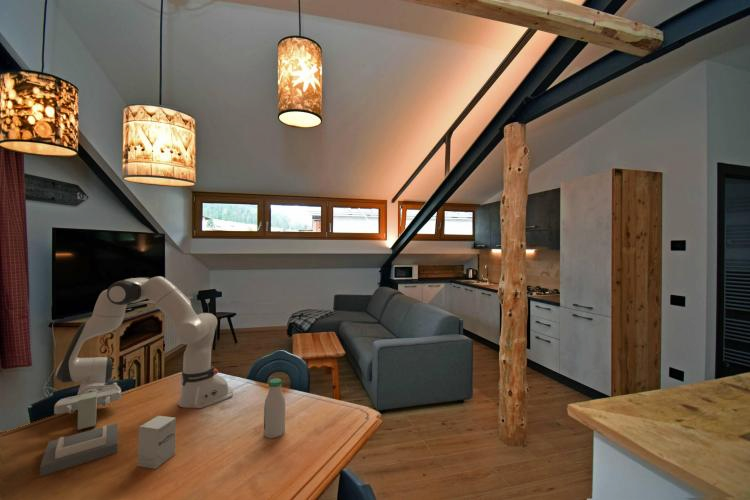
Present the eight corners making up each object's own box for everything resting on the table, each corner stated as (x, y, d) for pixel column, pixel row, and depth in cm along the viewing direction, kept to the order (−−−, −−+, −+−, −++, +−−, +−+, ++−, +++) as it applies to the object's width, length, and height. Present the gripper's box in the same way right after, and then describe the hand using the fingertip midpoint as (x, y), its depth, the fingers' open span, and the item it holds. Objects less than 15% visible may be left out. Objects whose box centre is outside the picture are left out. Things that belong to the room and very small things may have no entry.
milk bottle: (289, 430, 119) (290, 378, 119) (274, 441, 112) (275, 386, 112) (273, 425, 122) (274, 374, 123) (259, 435, 115) (260, 382, 116)
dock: (117, 431, 117) (117, 416, 117) (117, 452, 104) (117, 436, 105) (48, 450, 105) (49, 434, 105) (39, 476, 93) (40, 458, 93)
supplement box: (156, 469, 97) (157, 429, 97) (136, 466, 98) (137, 426, 98) (175, 454, 104) (176, 417, 104) (157, 451, 105) (158, 414, 105)
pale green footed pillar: (96, 421, 123) (96, 391, 123) (95, 427, 119) (96, 396, 119) (78, 425, 120) (79, 394, 120) (77, 432, 115) (78, 400, 116)
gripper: (56, 394, 125) (50, 407, 115) (121, 381, 139) (121, 392, 128) (56, 410, 125) (50, 424, 115) (121, 395, 138) (121, 407, 128)
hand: (88, 407), depth 121 cm, fingers open, 8 cm apart
